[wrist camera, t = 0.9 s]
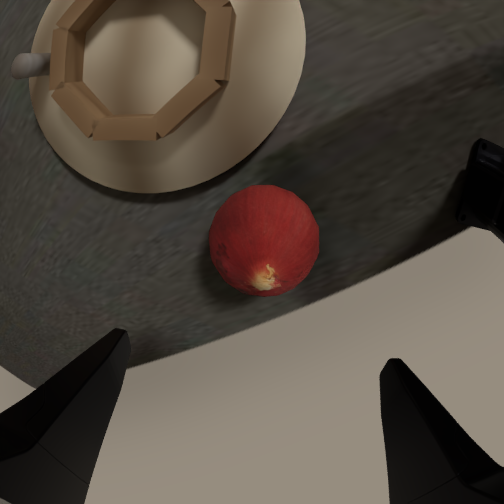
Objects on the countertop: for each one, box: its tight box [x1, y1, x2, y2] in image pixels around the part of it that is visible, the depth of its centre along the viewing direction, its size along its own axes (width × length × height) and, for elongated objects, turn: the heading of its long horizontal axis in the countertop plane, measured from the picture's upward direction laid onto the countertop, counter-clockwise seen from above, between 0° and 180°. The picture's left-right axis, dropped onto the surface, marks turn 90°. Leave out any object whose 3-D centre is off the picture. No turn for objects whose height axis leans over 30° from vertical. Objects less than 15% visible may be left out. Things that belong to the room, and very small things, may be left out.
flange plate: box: [11, 0, 306, 193], centre depth 13 cm, size 18×18×4 cm
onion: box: [209, 185, 319, 297], centre depth 16 cm, size 6×6×8 cm
